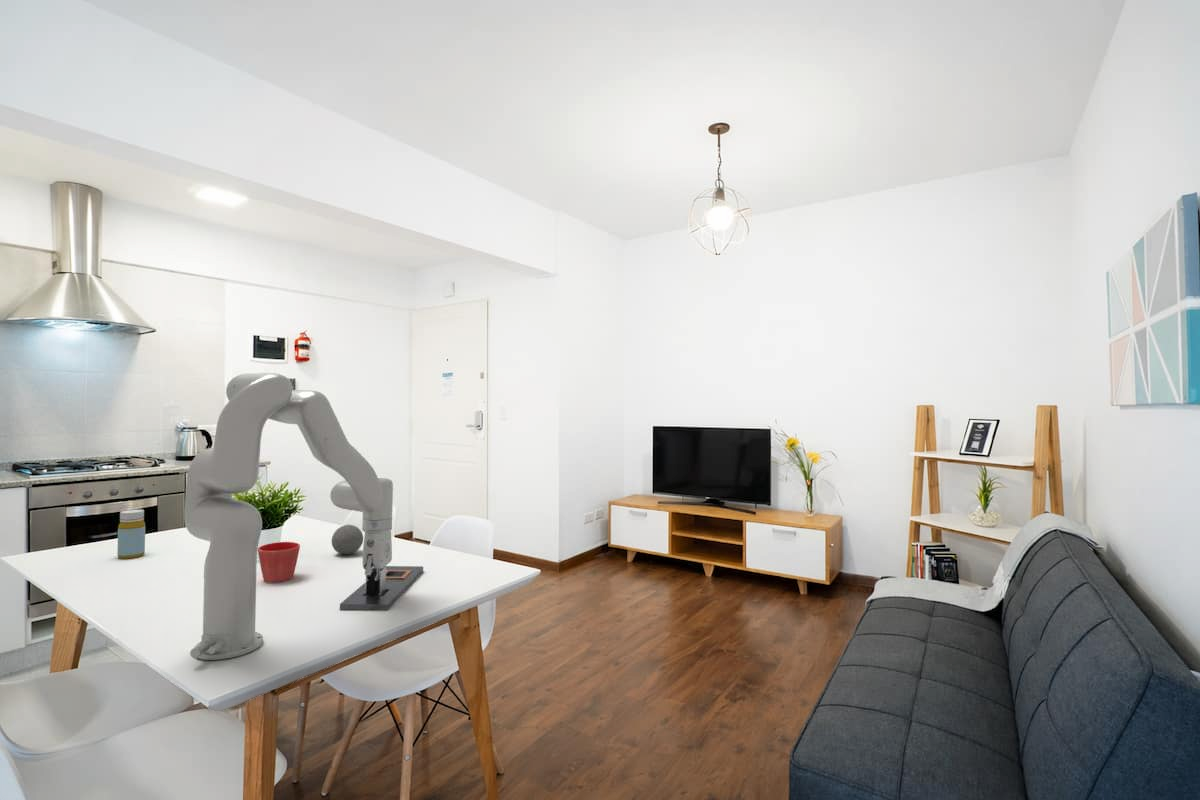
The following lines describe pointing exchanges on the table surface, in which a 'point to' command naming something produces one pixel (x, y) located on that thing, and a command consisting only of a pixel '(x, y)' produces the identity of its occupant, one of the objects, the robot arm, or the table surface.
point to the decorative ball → (347, 539)
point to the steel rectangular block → (381, 581)
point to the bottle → (131, 534)
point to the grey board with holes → (395, 587)
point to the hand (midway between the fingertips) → (375, 591)
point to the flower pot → (278, 560)
